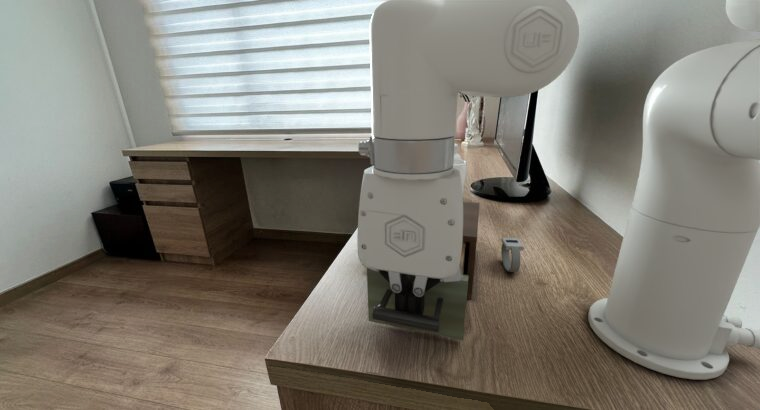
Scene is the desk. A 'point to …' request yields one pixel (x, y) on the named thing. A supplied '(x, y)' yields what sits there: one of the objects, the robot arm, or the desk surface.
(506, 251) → the wristwatch
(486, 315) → the desk surface
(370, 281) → the drawer
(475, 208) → the cabinet
